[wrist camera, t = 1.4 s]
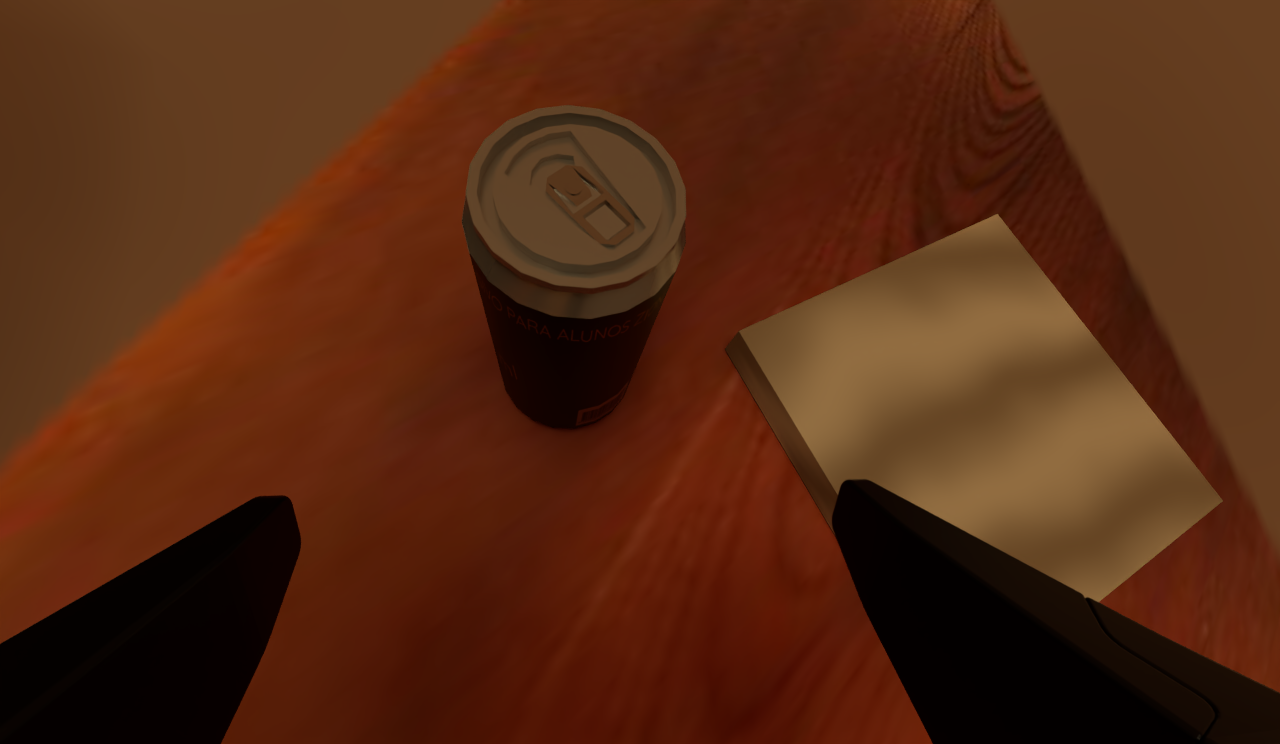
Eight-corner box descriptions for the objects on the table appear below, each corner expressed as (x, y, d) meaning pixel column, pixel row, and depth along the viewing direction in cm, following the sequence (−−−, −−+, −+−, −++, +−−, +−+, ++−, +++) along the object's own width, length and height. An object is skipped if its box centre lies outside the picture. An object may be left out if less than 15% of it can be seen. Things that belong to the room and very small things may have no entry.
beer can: (653, 377, 24) (743, 208, 13) (561, 459, 22) (570, 347, 11) (571, 293, 25) (586, 64, 13) (475, 366, 23) (400, 171, 12)
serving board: (1173, 505, 26) (1222, 500, 24) (930, 696, 21) (966, 709, 19) (969, 236, 29) (997, 214, 27) (724, 348, 25) (738, 331, 23)
